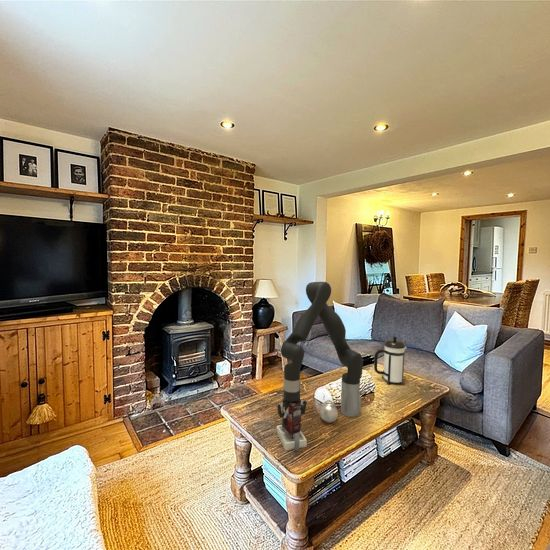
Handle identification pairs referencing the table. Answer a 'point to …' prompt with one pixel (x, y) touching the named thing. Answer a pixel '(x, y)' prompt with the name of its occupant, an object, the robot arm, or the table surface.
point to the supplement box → (293, 420)
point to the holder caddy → (288, 442)
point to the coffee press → (392, 360)
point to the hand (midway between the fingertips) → (291, 423)
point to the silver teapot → (329, 411)
